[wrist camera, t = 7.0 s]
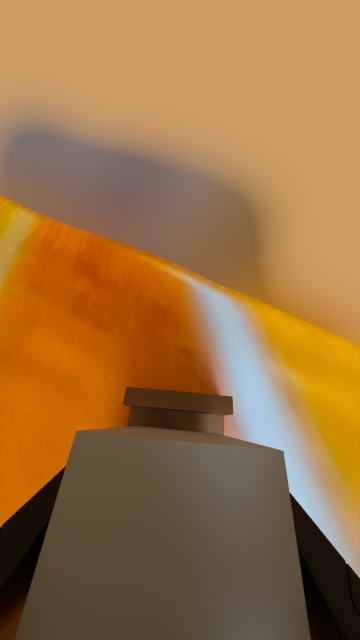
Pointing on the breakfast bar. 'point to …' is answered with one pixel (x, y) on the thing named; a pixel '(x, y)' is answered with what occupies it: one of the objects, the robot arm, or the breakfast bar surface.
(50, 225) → the breakfast bar surface
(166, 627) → the grey rectangular block
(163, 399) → the stand
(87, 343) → the breakfast bar surface
